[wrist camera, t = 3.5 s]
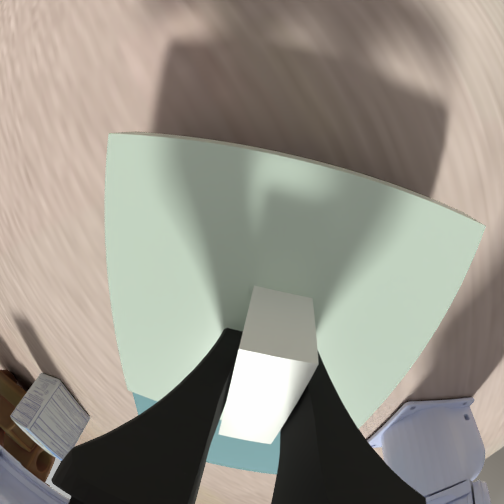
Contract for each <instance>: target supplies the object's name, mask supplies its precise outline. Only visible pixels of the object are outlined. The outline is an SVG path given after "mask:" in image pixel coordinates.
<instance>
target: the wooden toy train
mask: <svg viewBox="0 0 504 504" xmlns="http://www.w3.org/2000/svg"><path fill="white" fill-rule="evenodd" d="M26 393H27V392H26V391H25V390H24V389H23V388H21V387H20V386H19V385H17V381H16V378H15V376H14V375H13V374H12V373H11V372H10V371H8V370H0V445H1V446H2V447H3V448H4V449H5V450H6V451H7V452H8V453H10V454H11V455H12V456H13V457H14V458H15V459H16V460H18V461H19V462H20V463H21V465H22V466H23V467H24V468H26V469H27V470H28V471H29V472H31V473H32V474H33V475H34V476H36V477H37V478H38V479H40V480H41V481H43V482H44V483H45V481H46V479H47V477H48V475H49V473H50V471H51V468H52V466H53V464H54V461H55V457H54V456H52V455H51V454H49V453H48V452H46V451H45V450H44V449H43V448H41V447H40V446H39V445H38V444H37V443H36V442H34V441H33V440H32V439H31V438H30V437H29V436H28V435H27V434H26V433H25V432H24V431H23V430H22V429H21V428H20V427H19V426H18V425H17V424H16V423H15V422H14V421H13V420H12V419H11V417H10V416H11V414H12V413H13V411H14V410H15V408H16V407H17V405H18V404H19V402H20V401H21V400H22V398H23V397H24V395H25V394H26ZM4 432H5V433H4ZM45 484H46V483H45ZM47 485H48V484H47ZM48 486H49V485H48Z"/></svg>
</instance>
